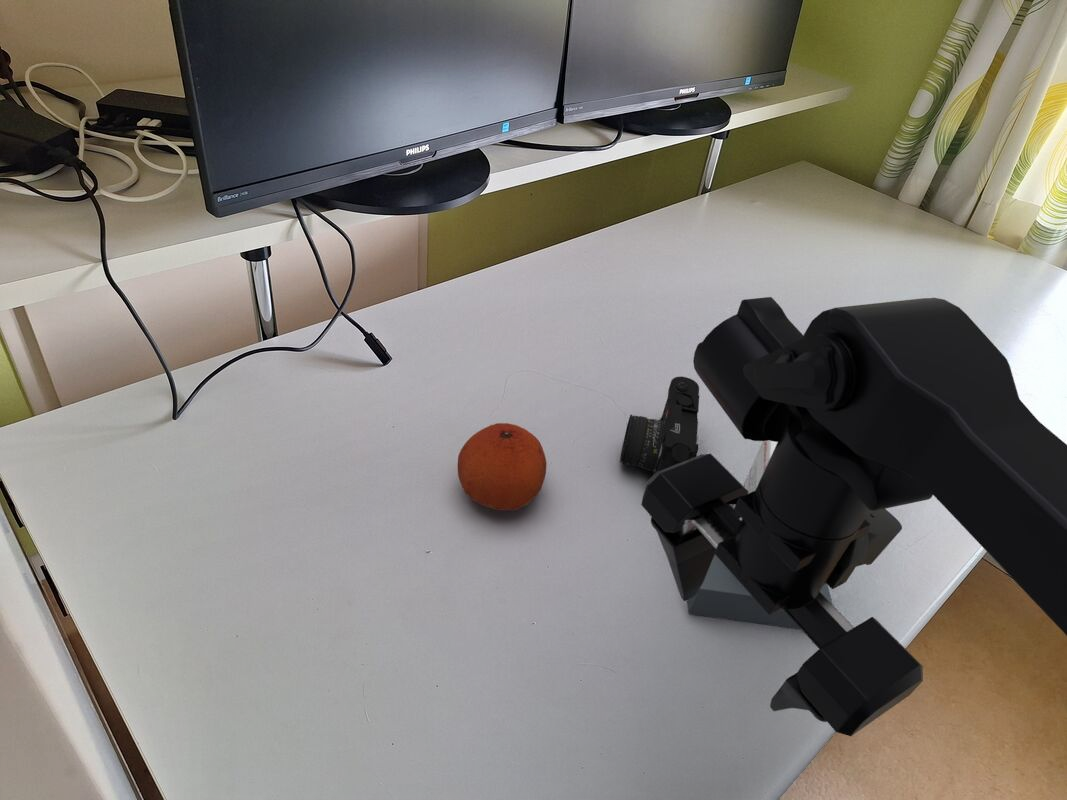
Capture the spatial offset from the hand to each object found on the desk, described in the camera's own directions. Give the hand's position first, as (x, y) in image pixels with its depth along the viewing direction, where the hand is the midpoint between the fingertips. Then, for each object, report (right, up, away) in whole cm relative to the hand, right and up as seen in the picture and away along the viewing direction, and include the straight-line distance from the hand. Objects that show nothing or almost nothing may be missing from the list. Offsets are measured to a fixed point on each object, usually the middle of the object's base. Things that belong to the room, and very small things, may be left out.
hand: (730, 648), depth 52 cm
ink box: (+7, +3, +19) cm, 21 cm away
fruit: (-17, +8, +26) cm, 32 cm away
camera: (0, +10, +32) cm, 34 cm away
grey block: (+7, +1, +22) cm, 23 cm away
